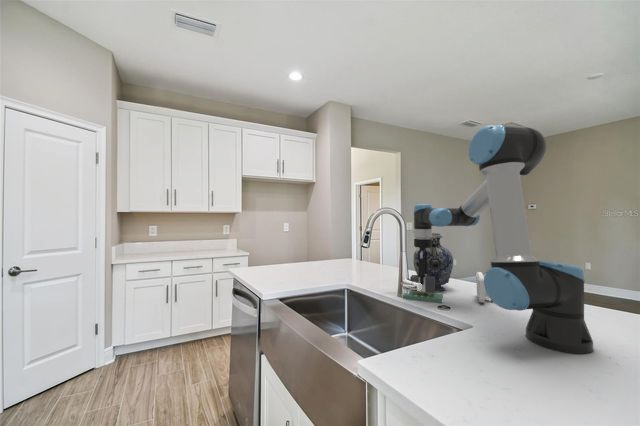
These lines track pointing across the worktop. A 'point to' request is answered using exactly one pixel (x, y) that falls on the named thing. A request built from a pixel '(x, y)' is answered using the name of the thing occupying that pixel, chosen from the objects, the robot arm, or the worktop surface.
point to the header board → (424, 296)
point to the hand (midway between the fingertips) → (422, 289)
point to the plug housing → (428, 283)
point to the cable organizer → (481, 288)
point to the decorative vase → (437, 262)
